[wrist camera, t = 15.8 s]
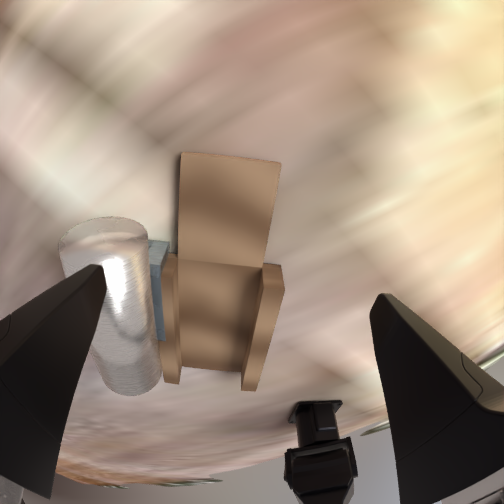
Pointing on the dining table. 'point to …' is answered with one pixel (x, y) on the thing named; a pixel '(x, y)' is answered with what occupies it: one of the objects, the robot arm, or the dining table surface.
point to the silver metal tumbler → (119, 300)
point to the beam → (221, 269)
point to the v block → (158, 281)
